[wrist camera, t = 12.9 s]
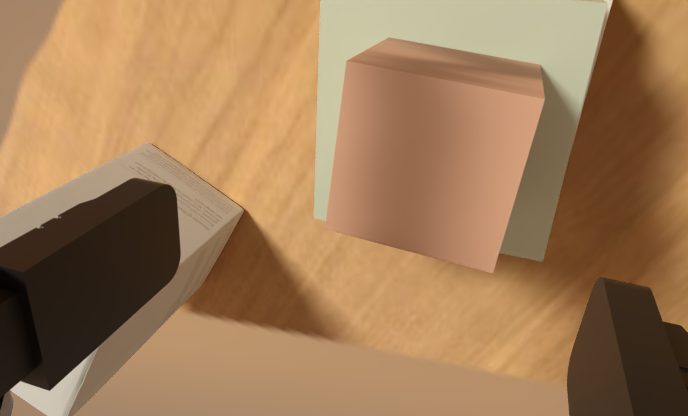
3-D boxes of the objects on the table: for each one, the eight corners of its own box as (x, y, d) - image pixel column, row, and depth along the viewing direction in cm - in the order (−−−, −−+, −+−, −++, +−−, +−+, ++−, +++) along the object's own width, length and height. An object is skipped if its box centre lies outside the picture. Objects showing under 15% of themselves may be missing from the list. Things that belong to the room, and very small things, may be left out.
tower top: (593, -7, 20) (607, 2, 16) (540, 216, 23) (542, 261, 20) (353, -24, 22) (321, -20, 18) (342, 182, 26) (313, 218, 22)
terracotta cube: (540, 64, 17) (544, 99, 13) (500, 203, 20) (492, 273, 15) (388, 37, 18) (346, 60, 14) (367, 172, 21) (324, 229, 16)
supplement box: (147, 137, 32) (-47, 231, 21) (248, 209, 32) (106, 340, 21) (112, 222, 36) (-70, 339, 25) (202, 287, 36) (60, 433, 25)
